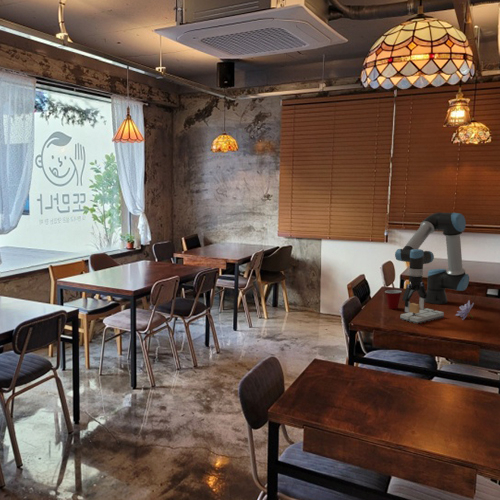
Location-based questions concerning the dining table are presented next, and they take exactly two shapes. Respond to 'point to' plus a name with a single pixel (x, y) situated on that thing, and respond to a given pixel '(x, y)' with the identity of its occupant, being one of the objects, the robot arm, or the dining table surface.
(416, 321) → the fader console
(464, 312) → the water lily
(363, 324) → the dining table surface
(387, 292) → the plastic cup
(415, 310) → the fader knob
